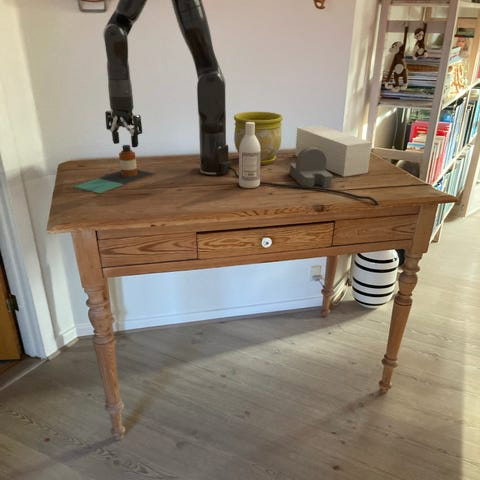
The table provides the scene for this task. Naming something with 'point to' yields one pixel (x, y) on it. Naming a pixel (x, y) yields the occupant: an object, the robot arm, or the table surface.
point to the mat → (110, 182)
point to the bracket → (311, 168)
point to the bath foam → (249, 158)
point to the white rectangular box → (336, 149)
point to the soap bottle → (127, 162)
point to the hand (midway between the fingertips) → (125, 145)
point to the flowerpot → (261, 132)
